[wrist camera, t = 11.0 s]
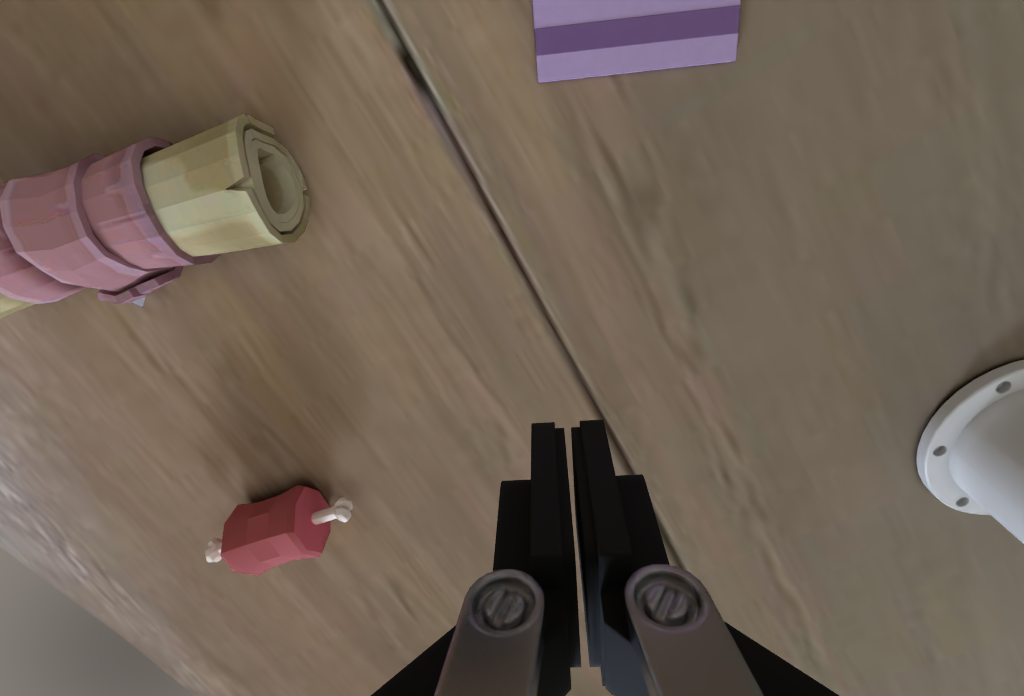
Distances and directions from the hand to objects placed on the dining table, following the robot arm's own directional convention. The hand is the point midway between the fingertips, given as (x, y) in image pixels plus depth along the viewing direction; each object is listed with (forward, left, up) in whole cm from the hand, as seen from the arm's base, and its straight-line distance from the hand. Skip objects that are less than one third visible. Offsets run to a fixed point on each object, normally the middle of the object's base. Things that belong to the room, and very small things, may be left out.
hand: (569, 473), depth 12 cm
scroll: (+22, -4, -21) cm, 31 cm away
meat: (+20, +18, -21) cm, 35 cm away
